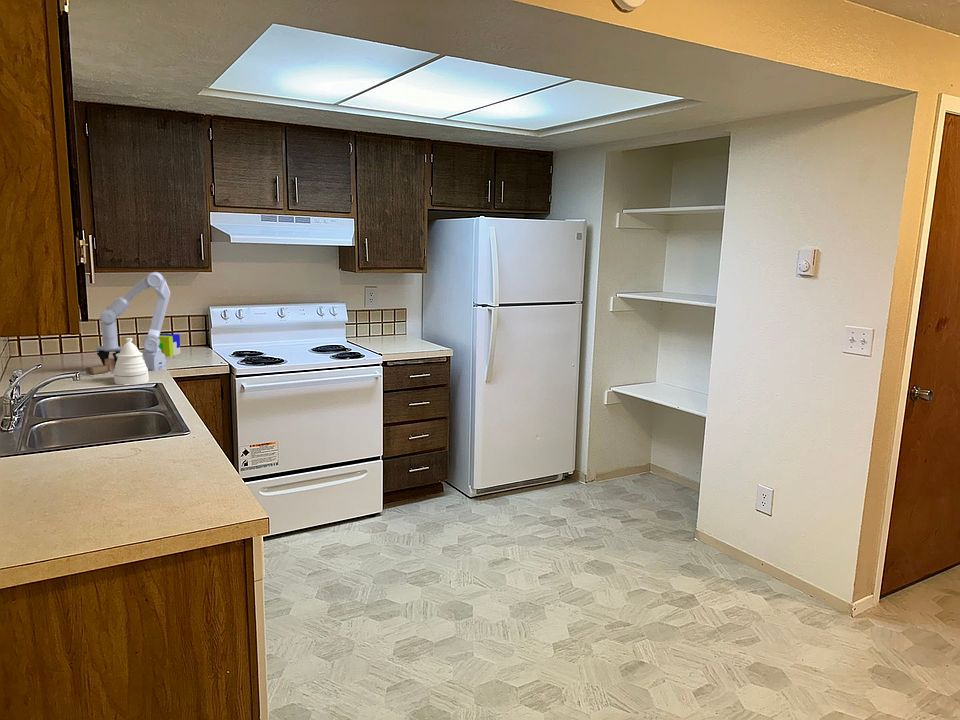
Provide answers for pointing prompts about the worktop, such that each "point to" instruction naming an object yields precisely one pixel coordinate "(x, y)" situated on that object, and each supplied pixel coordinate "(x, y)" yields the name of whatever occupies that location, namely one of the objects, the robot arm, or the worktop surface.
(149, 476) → the worktop surface
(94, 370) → the base block
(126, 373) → the honey pot
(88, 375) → the build board
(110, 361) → the top block
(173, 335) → the puzzle toy
